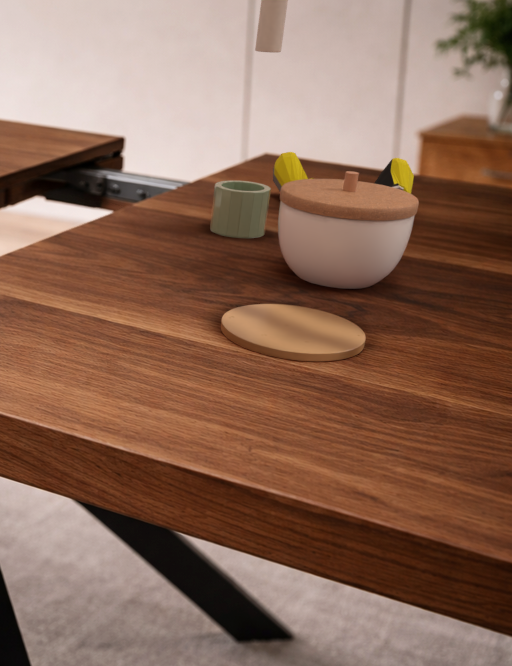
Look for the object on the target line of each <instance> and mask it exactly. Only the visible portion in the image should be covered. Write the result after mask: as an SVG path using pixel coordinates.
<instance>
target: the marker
mask: <svg viewBox="0 0 512 666" xmlns="http://www.w3.org/2000/svg"><path fill="white" fill-rule="evenodd" d="M288 3H289V0H261V1H260V6H259V7H260V8H259V16H258V17H259V18H258V24H257V33H256V40H255V47H254V51H255V52H259V53H281V52H282V47H283V39H284V33H285V26H286V25H285V24H286V18H287V10H288Z"/></svg>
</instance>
